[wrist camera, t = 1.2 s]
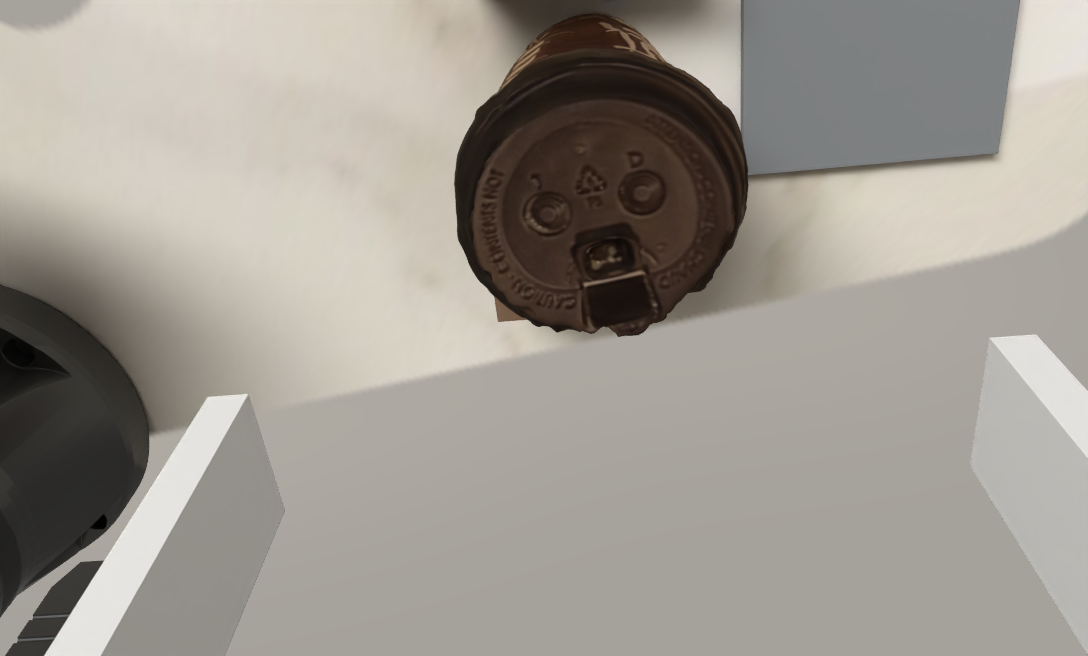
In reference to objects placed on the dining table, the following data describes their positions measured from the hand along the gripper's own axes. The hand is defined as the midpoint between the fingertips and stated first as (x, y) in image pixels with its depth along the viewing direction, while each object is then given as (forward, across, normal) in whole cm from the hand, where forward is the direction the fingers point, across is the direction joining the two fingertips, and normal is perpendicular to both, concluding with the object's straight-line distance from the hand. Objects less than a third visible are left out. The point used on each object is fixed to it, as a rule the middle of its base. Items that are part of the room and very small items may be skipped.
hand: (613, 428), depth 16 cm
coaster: (+22, +11, +2) cm, 25 cm away
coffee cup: (+23, 0, 0) cm, 23 cm away
